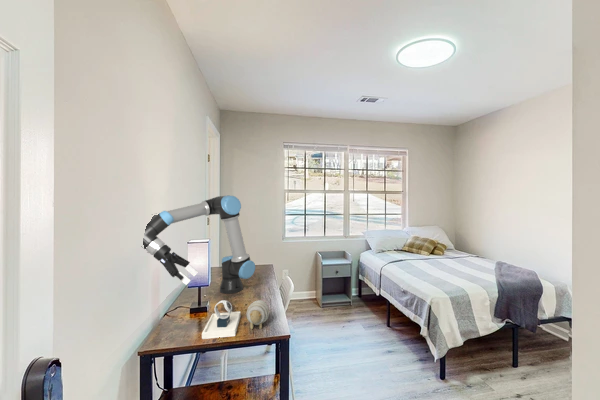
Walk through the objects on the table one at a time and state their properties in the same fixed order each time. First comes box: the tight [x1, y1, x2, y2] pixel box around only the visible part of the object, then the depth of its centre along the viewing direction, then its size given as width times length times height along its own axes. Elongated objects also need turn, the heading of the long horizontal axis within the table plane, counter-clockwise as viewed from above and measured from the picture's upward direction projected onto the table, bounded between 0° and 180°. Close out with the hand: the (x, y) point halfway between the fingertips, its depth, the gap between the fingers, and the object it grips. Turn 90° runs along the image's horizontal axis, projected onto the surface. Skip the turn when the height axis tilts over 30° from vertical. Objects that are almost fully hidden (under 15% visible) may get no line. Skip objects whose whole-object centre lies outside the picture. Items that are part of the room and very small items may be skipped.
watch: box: [214, 299, 233, 327], centre depth 120 cm, size 6×8×11 cm
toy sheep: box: [246, 299, 270, 330], centre depth 121 cm, size 11×17×11 cm, turn 1°
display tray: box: [201, 310, 242, 340], centre depth 120 cm, size 20×14×2 cm
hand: (192, 278), depth 124 cm, fingers open, 13 cm apart
